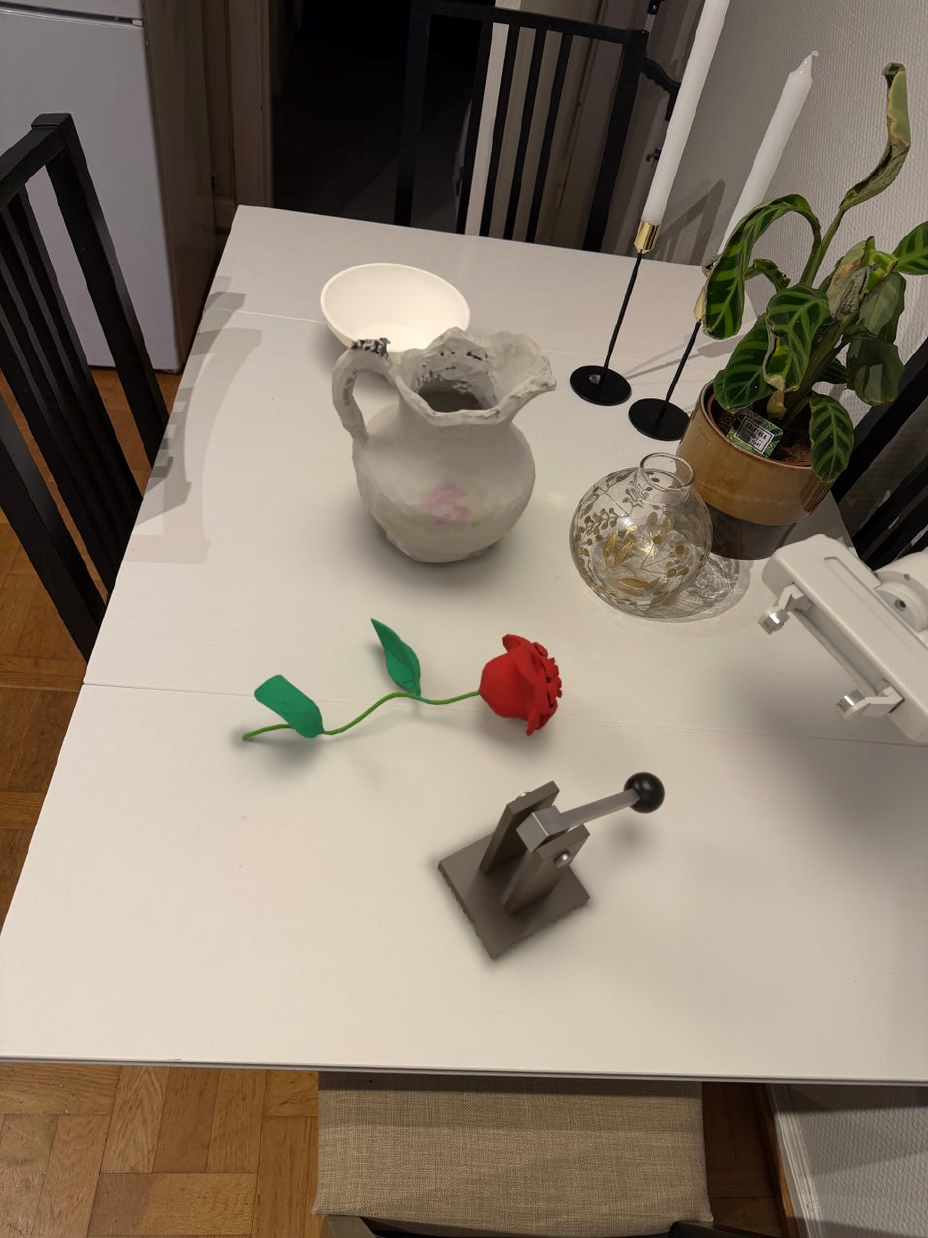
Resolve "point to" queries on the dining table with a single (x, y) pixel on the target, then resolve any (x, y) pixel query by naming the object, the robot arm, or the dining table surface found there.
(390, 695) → the decorative flower
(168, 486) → the dining table surface
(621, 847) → the dining table surface
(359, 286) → the bowl
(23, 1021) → the dining table surface
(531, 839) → the lever
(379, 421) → the ceramic pitcher
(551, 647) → the dining table surface
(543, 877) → the bracket
